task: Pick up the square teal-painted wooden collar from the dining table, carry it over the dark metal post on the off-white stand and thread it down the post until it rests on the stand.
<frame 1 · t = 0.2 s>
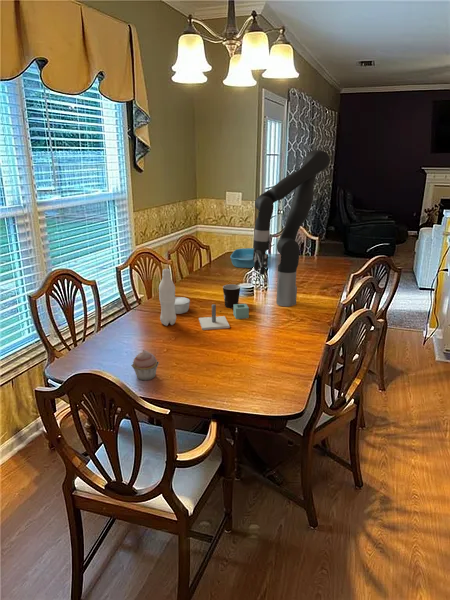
hand: (259, 272, 216), 17 cm above the table, tool pointing down, fingers open, 8 cm apart
collar: (240, 316, 209), on the table
coffee mug: (232, 305, 224), on the table
cupcake: (145, 376, 155), on the table
water bottle: (168, 324, 200), on the table
casserole dish: (248, 263, 304), on the table
ramekin: (178, 311, 216), on the table
post stand: (213, 323, 200), on the table
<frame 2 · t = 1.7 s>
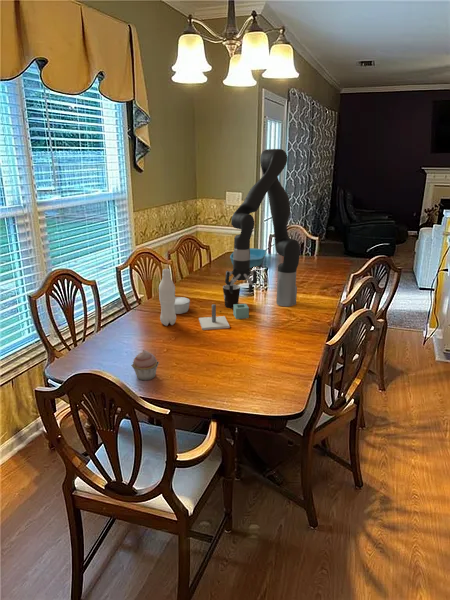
hand: (240, 292, 205), 12 cm above the table, tool pointing down, fingers open, 8 cm apart
nothing on the table moved.
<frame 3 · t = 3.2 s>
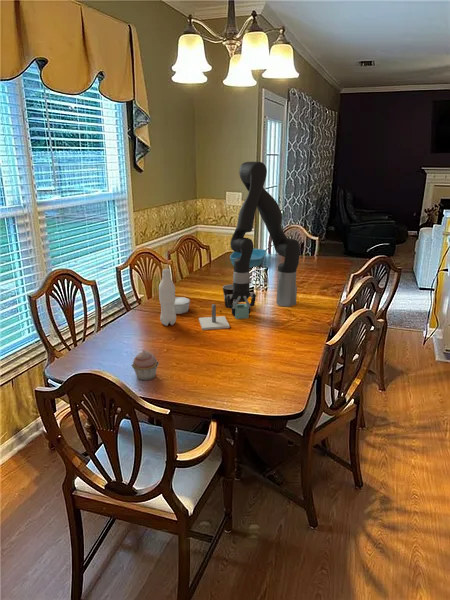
hand: (240, 314, 209), 1 cm above the table, tool pointing down, fingers closed on collar, 6 cm apart
collar: (240, 316, 209), on the table, touching gripper
everything else where it was.
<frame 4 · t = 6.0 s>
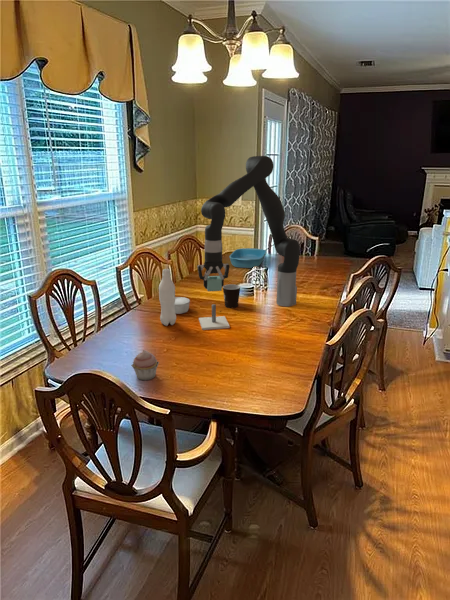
hand: (213, 287, 194), 17 cm above the table, tool pointing down, fingers closed on collar, 6 cm apart
collar: (213, 288, 195), point 16 cm above the table, touching gripper
everything else where it was.
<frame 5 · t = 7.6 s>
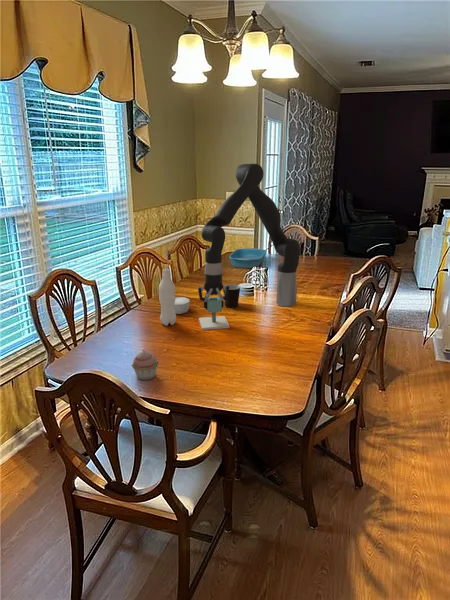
hand: (213, 308, 198), 7 cm above the table, tool pointing down, fingers closed on collar, 6 cm apart
collar: (213, 309, 198), point 7 cm above the table, touching gripper
everything else where it was.
when the fingers open (3 cm above the table, at t = 9.0 s): collar drops 1 cm, resting on post stand.
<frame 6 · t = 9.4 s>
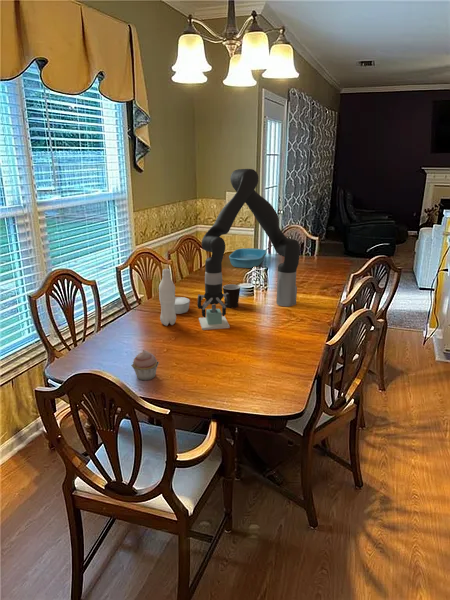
hand: (213, 316, 199), 4 cm above the table, tool pointing down, fingers open, 8 cm apart
collar: (213, 321, 200), point 1 cm above the table, touching post stand
everything else where it was.
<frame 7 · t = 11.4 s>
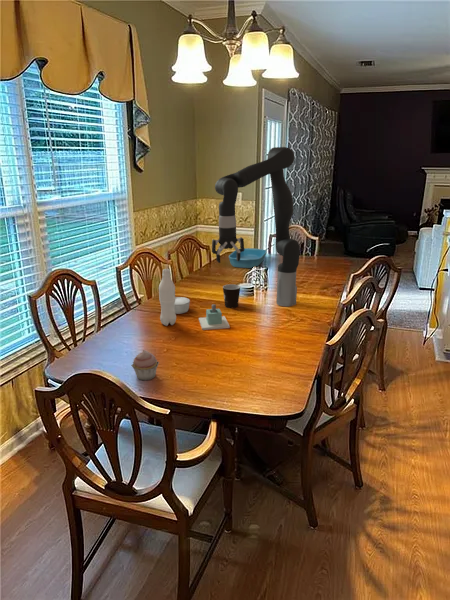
hand: (228, 261, 200), 26 cm above the table, tool pointing down, fingers open, 8 cm apart
nothing on the table moved.
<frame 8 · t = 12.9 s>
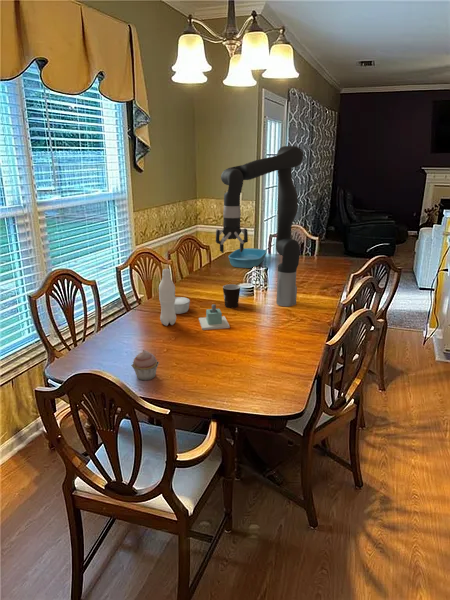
hand: (231, 252, 201), 30 cm above the table, tool pointing down, fingers open, 8 cm apart
nothing on the table moved.
at the end: collar 0.0 cm off-centre on the post stand, point 1.0 cm above the post stand's base; the gripper is holding nothing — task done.
